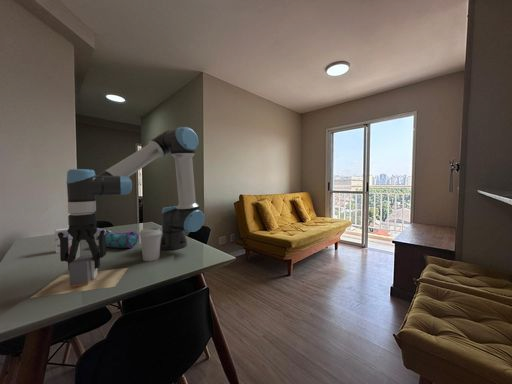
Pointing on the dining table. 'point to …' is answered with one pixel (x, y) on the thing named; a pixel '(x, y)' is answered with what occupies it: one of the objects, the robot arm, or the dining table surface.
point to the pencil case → (120, 239)
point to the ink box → (57, 240)
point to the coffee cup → (150, 243)
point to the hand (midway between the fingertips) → (85, 278)
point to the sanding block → (81, 271)
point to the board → (101, 281)
